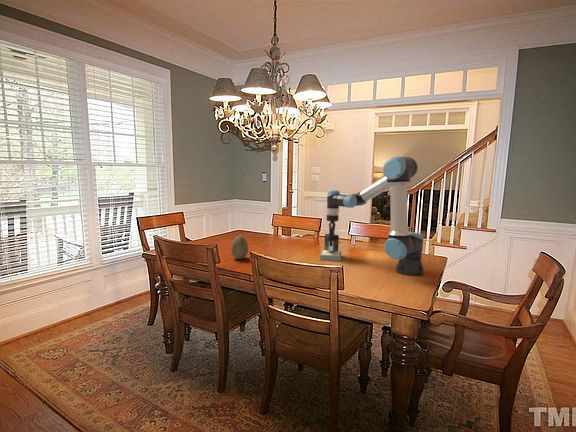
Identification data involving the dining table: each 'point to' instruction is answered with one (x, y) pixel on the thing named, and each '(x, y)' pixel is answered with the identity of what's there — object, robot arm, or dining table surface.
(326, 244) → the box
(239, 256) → the decorative egg
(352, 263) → the dining table surface
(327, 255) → the plinth
